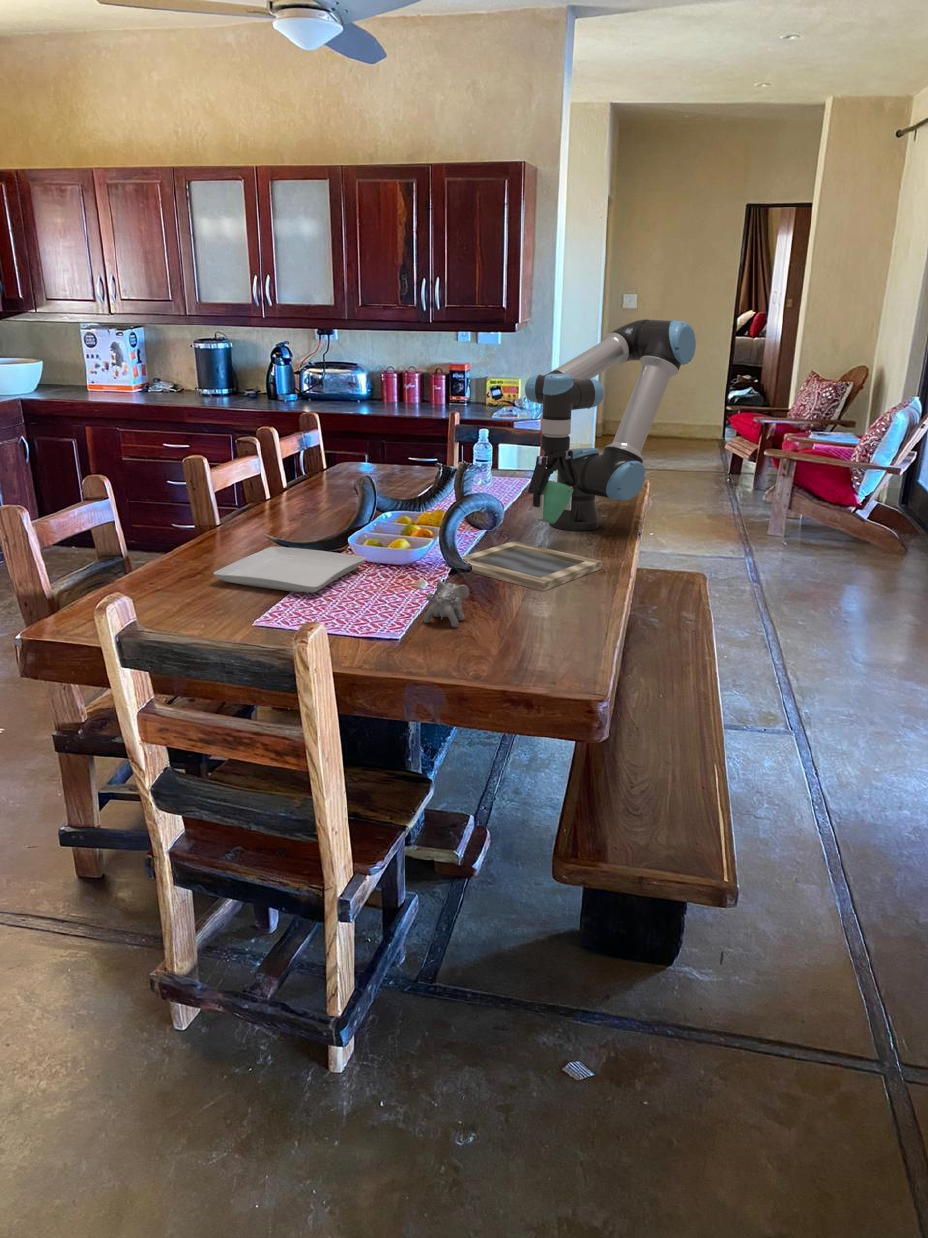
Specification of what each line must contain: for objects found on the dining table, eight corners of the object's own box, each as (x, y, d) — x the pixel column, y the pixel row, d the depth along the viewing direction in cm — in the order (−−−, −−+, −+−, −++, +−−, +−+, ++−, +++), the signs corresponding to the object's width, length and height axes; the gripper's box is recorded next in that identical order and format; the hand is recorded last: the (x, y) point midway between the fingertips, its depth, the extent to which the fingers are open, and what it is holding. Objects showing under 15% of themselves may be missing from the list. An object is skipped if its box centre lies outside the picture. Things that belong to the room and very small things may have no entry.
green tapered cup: (563, 522, 234) (573, 485, 234) (527, 513, 235) (537, 477, 235) (564, 530, 249) (573, 495, 249) (530, 522, 250) (539, 487, 250)
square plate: (368, 570, 223) (368, 555, 221) (316, 602, 198) (316, 585, 197) (272, 557, 231) (272, 543, 229) (211, 587, 206) (210, 571, 205)
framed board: (513, 548, 245) (513, 541, 244) (601, 568, 228) (602, 561, 227) (451, 567, 226) (452, 559, 225) (543, 591, 209) (543, 583, 208)
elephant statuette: (422, 628, 184) (423, 594, 181) (427, 606, 195) (427, 573, 192) (467, 631, 184) (468, 596, 181) (469, 609, 195) (470, 576, 192)
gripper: (569, 428, 246) (566, 503, 254) (516, 438, 228) (513, 520, 236) (593, 430, 242) (588, 507, 250) (540, 442, 224) (537, 524, 231)
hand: (552, 513), depth 243 cm, fingers closed on green tapered cup, 13 cm apart
